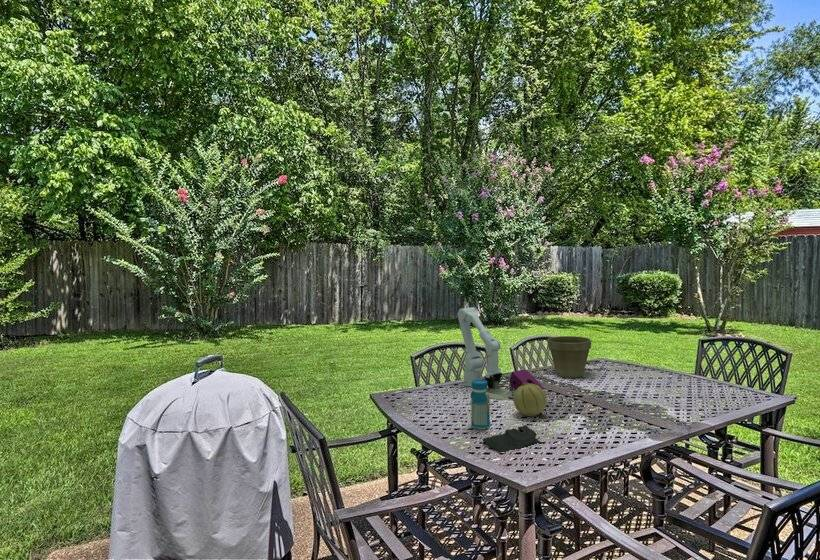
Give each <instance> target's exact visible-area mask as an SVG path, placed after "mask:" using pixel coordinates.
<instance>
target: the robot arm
mask: <svg viewBox="0 0 820 560" xmlns="http://www.w3.org/2000/svg"><path fill="white" fill-rule="evenodd" d="M456 315H457V319H458V323H459V327H460V331H461V335H462V339H463V342H464V346H465V347H464V348H465V350H466V355H465V357H464V367H465V370H464V371H463V387H469V388H470V387H471V388H472V381H473V380H478V379H481V380H482V369H483V367H484V366H485V365H484V364H485V361H484V359H483V357H482V355H481V353H479V352H478V351H477V348H476V344H475V340H474V336H473V333H472V329H471V323H472V324H473V325H474V327H475V328H476V330H477V331H478V332H479V333H478V334H479V335H478V336H479V337H480V339H481V340H482V342H483V343H484V345H485V346H484V350H485V351H486V352H485V353H486V355H487V371H486V373H485V375H484V377H483V378H484V379H483V380H486V381H487V387H488V388H493V384H494V381H497V382H499V383H500V381H501V378H502V375H503V373H502V372H501V371H502V369H501V368H500V367H499V350H501V344H500V341H499V340H497V339H496V338H494V337H493V335H492V333H491V332H490V330H489V329H486V328H485V326H484V325H483V323H482V321H481V319H480V317H479V312H478V311H477V308H476V307H474V306H472V307H465V308H459V309H458V312H457V314H456Z"/></svg>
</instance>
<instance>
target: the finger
mask: <svg viewBox="0 0 820 560" xmlns="http://www.w3.org/2000/svg"><path fill="white" fill-rule="evenodd" d="M499 387H500V382H497V381H494V384H493V388H496V389H500V388H499Z"/></svg>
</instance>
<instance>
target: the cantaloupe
mask: <svg viewBox="0 0 820 560" xmlns="http://www.w3.org/2000/svg"><path fill="white" fill-rule="evenodd" d="M513 405H514V407H515V409H516V410H517V412H519V413H520V414H522V416H527V417H535V416H538V415H541V413H542V412H544V410H545V409H546V408H547V405H548V404H547V396H546V393H545V392H544V389H543V390H542V389H541V388H540V387H539V386H537V385H535V384H525V383H522V385H521V386H520V387H518V388H517V389H516V390H514V393H513Z"/></svg>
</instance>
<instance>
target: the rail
mask: <svg viewBox="0 0 820 560" xmlns="http://www.w3.org/2000/svg"><path fill="white" fill-rule="evenodd" d="M472 391H473V389H471V391H470V393H472ZM487 392H488V394H489V399H491V398H492V400H499V401H505V400H506V399H507V398H509V397H511V390H509V389H501V388H499V389H496V388H488V386H487Z"/></svg>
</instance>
